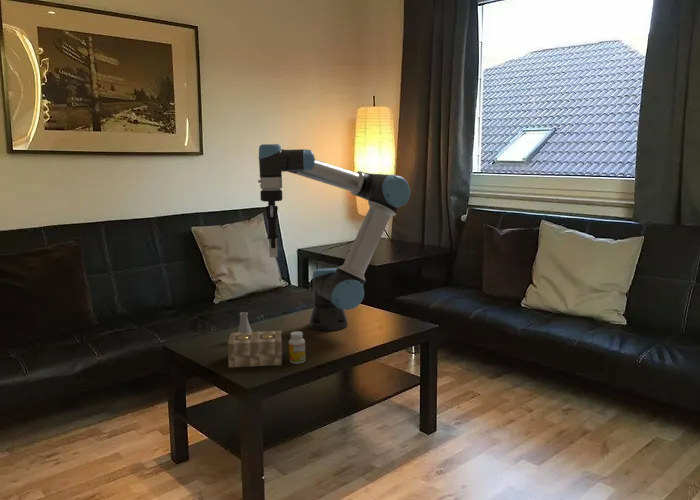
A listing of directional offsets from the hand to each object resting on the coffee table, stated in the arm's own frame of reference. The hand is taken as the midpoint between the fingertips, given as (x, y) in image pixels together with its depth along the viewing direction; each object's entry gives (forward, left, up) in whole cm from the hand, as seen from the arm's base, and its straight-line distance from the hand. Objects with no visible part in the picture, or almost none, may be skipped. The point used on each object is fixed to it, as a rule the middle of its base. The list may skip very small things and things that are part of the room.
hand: (273, 256), depth 218 cm
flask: (+12, -9, -33) cm, 36 cm away
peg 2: (+3, +15, -32) cm, 36 cm away
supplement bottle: (-7, +18, -33) cm, 38 cm away
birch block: (+7, +15, -32) cm, 36 cm away
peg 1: (+11, +15, -32) cm, 37 cm away
